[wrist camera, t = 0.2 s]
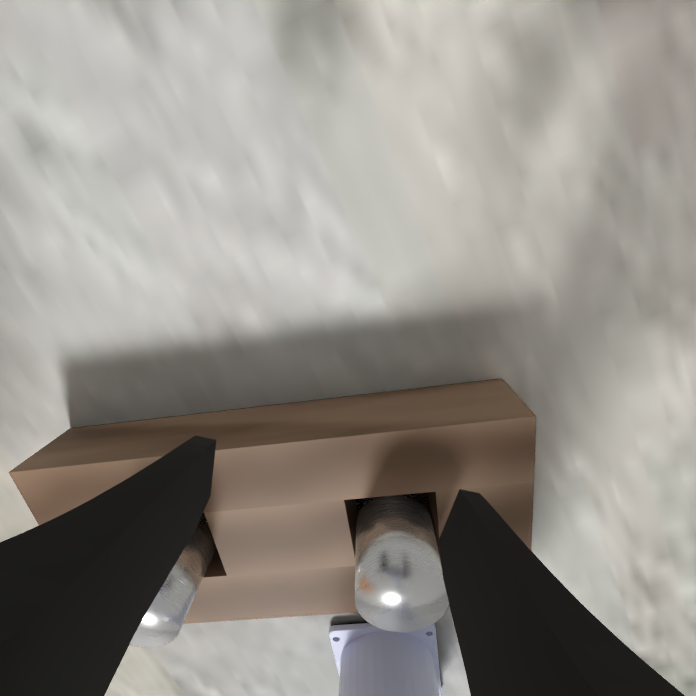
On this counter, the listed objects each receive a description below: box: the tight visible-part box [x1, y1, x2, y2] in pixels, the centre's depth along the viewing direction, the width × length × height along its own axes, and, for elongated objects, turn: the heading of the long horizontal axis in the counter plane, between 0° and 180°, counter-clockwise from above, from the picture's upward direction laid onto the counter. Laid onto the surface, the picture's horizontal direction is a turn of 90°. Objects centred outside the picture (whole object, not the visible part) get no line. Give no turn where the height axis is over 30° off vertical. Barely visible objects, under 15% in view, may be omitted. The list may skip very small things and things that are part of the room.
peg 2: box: [355, 495, 449, 632], centre depth 17 cm, size 4×4×4 cm
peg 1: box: [129, 523, 215, 647], centre depth 18 cm, size 4×4×4 cm
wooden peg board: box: [9, 379, 536, 624], centre depth 21 cm, size 12×26×4 cm, turn 98°
